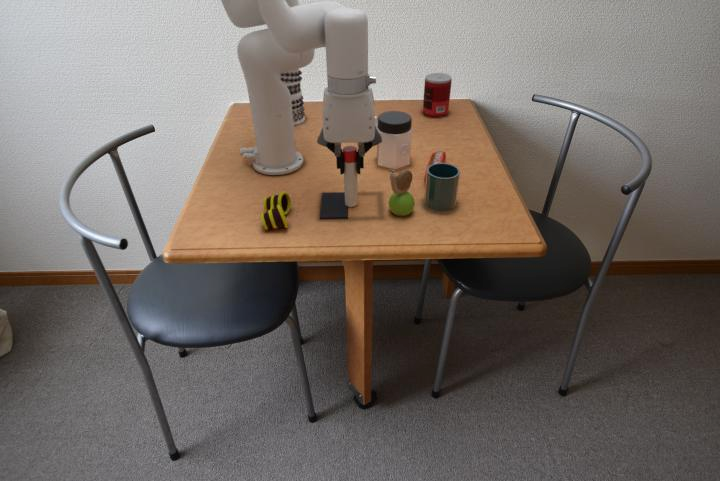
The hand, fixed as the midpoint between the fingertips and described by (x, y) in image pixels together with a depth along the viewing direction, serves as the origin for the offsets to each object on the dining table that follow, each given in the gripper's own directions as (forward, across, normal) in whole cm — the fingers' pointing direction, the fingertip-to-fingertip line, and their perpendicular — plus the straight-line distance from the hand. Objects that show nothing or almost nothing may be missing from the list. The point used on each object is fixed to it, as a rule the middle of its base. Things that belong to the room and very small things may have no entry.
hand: (350, 170), depth 99 cm
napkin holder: (+9, -3, -41) cm, 42 cm away
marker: (+8, 0, 0) cm, 8 cm away
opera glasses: (+9, +16, +5) cm, 19 cm away
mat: (+9, 0, 0) cm, 9 cm away
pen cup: (+9, -19, 0) cm, 21 cm away
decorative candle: (+9, +19, -48) cm, 52 cm away
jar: (+9, -10, -20) cm, 24 cm away
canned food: (+9, -25, -52) cm, 59 cm away
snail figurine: (+9, -10, +4) cm, 14 cm away
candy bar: (+9, -20, -14) cm, 26 cm away
